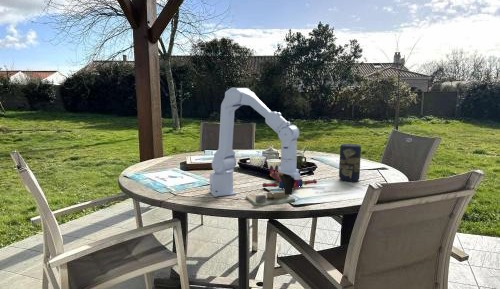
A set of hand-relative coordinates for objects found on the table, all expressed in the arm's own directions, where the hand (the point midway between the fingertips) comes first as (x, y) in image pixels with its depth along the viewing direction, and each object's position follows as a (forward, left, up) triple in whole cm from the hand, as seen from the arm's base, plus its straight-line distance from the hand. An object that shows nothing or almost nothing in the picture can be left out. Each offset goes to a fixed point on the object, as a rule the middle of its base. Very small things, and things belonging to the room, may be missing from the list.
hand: (288, 194), depth 135 cm
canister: (+44, +24, -4) cm, 50 cm away
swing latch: (-2, +5, -2) cm, 6 cm away
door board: (-4, +8, -4) cm, 9 cm away
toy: (+12, +29, -4) cm, 31 cm away
